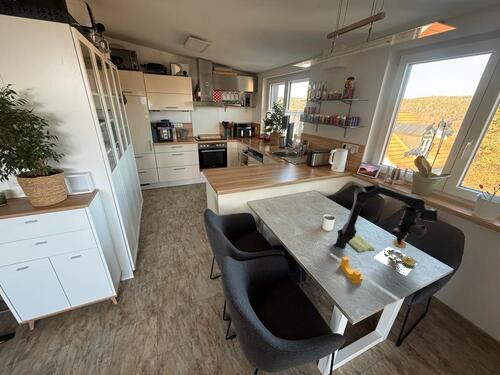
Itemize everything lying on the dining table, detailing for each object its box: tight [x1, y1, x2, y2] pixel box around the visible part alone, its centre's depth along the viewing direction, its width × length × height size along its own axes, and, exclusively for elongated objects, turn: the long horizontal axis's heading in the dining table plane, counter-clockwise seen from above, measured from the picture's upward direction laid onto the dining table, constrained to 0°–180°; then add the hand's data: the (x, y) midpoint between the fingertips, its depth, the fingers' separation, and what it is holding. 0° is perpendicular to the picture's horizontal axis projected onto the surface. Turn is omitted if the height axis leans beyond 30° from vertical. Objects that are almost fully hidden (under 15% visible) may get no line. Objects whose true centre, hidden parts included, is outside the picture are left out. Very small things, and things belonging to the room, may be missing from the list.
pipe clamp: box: [339, 256, 364, 285], centre depth 104 cm, size 12×4×6 cm, turn 9°
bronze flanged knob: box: [392, 238, 407, 249], centre depth 112 cm, size 6×6×6 cm
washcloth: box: [347, 233, 376, 254], centre depth 127 cm, size 13×18×3 cm
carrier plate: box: [373, 246, 420, 277], centre depth 113 cm, size 18×16×5 cm
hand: (399, 241), depth 113 cm, fingers closed on bronze flanged knob, 3 cm apart
